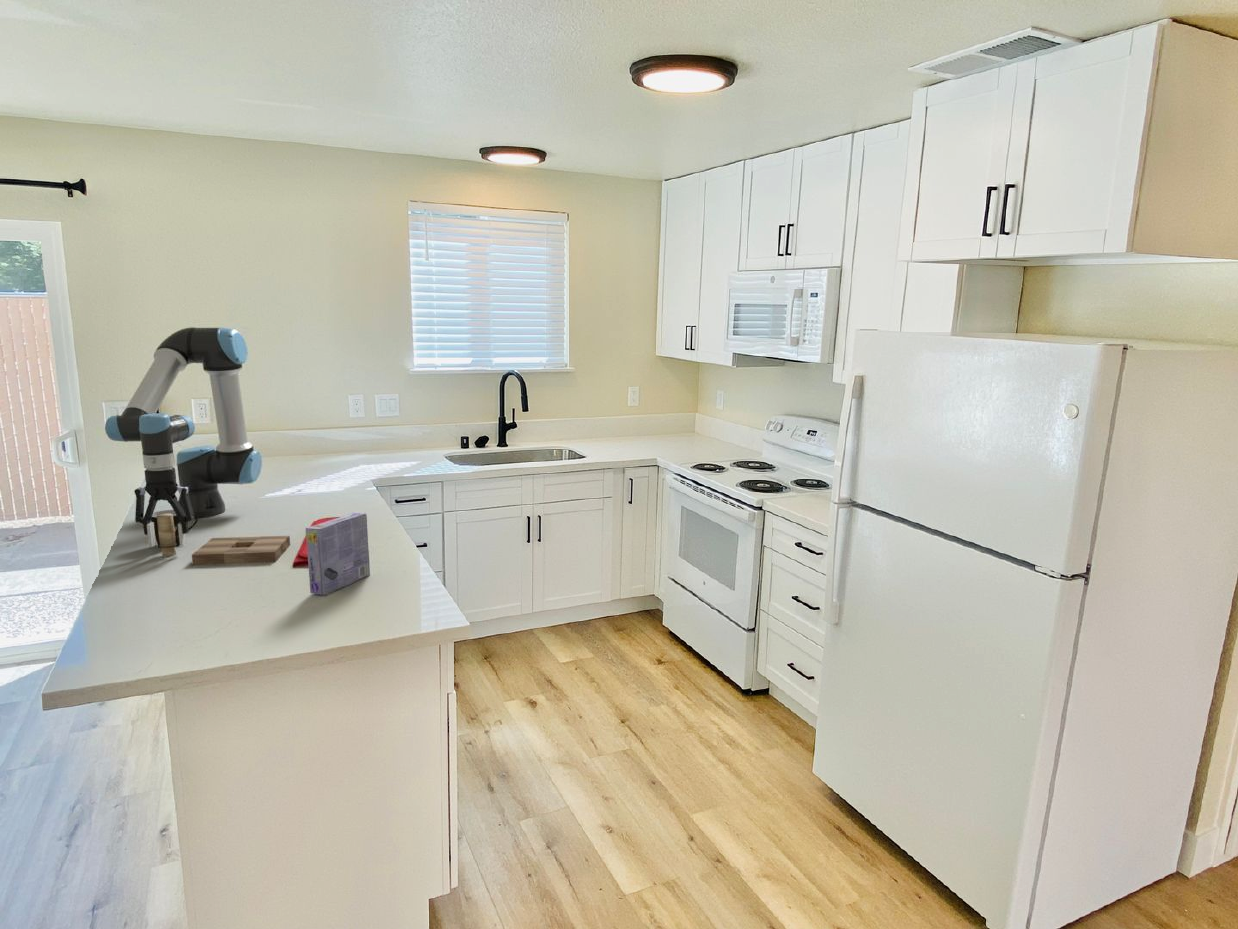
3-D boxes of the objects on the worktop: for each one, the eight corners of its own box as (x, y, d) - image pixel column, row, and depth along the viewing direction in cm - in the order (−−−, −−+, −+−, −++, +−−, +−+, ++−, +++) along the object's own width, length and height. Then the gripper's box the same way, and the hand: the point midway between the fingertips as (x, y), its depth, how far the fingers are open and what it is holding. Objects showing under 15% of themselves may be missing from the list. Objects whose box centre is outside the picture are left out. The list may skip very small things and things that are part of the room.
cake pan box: (359, 571, 208) (356, 509, 205) (374, 573, 206) (371, 511, 203) (308, 594, 191) (303, 527, 187) (323, 597, 189) (319, 530, 185)
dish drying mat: (291, 569, 210) (290, 556, 210) (311, 528, 249) (310, 517, 248) (350, 565, 214) (350, 552, 214) (361, 525, 253) (360, 515, 252)
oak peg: (164, 553, 220) (160, 513, 218) (179, 552, 221) (175, 513, 219) (158, 557, 216) (153, 517, 214) (173, 557, 217) (169, 517, 215)
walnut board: (213, 547, 226) (212, 538, 225) (290, 545, 230) (289, 535, 229) (192, 565, 211) (191, 554, 210) (275, 562, 214) (274, 552, 214)
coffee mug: (149, 550, 222) (145, 518, 220) (158, 541, 230) (155, 510, 228) (193, 547, 225) (189, 515, 223) (200, 539, 234) (197, 508, 232)
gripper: (113, 471, 208) (123, 549, 213) (193, 470, 211) (200, 547, 216) (126, 465, 215) (135, 542, 220) (203, 464, 219) (210, 539, 223)
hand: (167, 544), depth 218 cm, fingers open, 8 cm apart
